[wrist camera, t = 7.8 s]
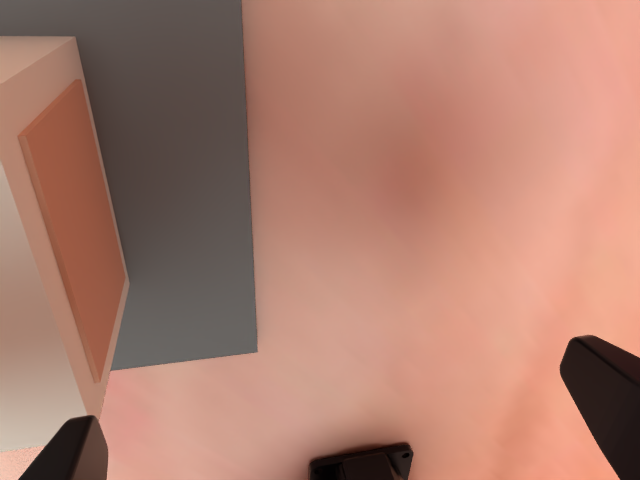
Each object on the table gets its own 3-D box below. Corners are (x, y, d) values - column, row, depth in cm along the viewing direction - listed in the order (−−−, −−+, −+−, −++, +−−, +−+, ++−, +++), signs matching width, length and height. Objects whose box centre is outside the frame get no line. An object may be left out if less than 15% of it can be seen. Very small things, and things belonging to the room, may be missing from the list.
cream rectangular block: (133, 283, 18) (100, 437, 12) (63, 289, 18) (-5, 453, 12) (80, 36, 14) (-12, 97, 8) (-17, 36, 13) (-192, 100, 7)
